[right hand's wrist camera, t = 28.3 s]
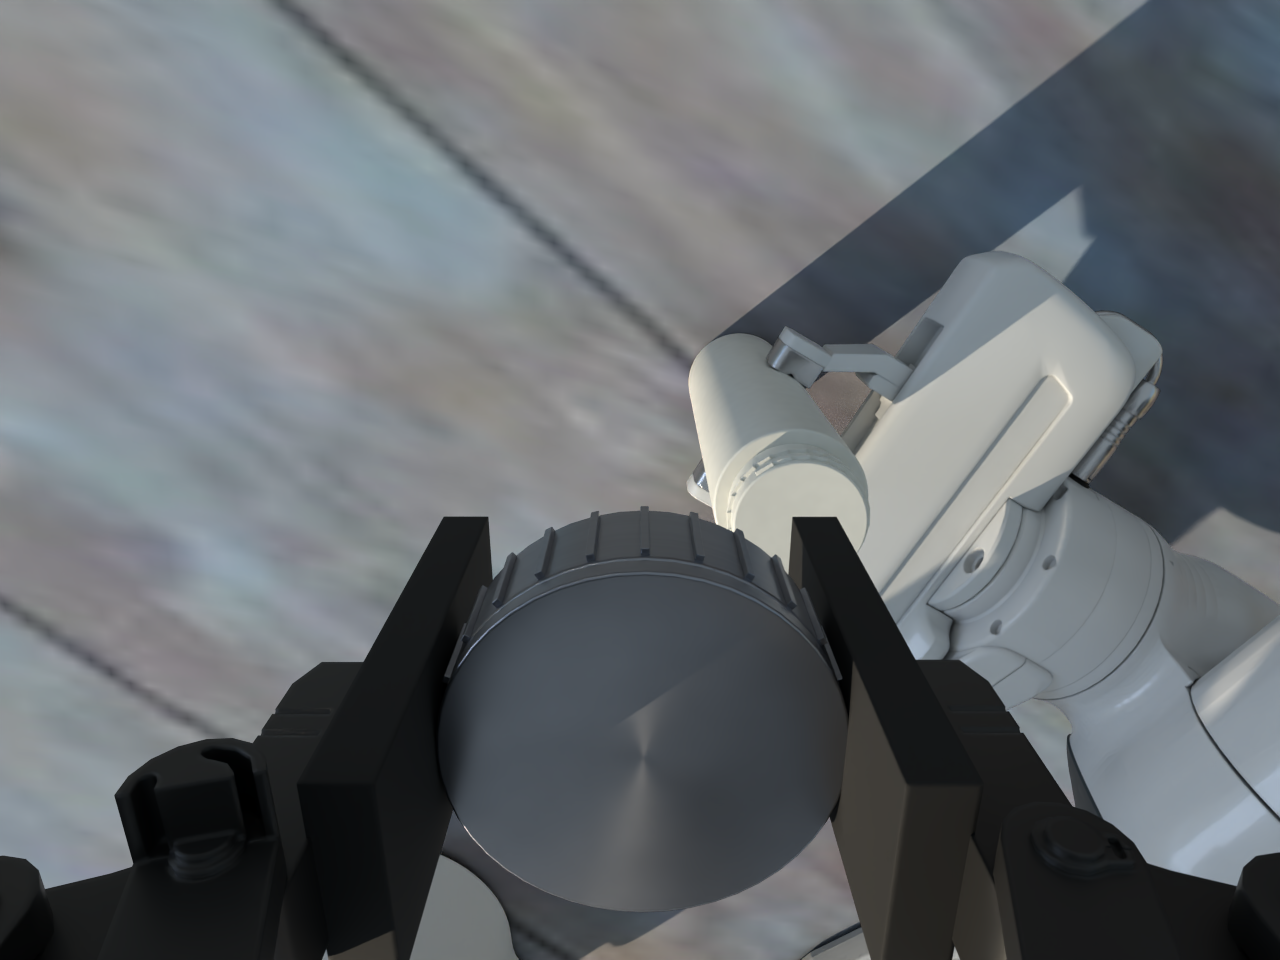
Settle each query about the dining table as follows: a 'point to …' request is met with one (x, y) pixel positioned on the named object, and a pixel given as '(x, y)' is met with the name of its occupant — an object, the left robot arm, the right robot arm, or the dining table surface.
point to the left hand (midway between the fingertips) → (734, 410)
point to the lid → (642, 714)
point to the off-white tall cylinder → (770, 449)
